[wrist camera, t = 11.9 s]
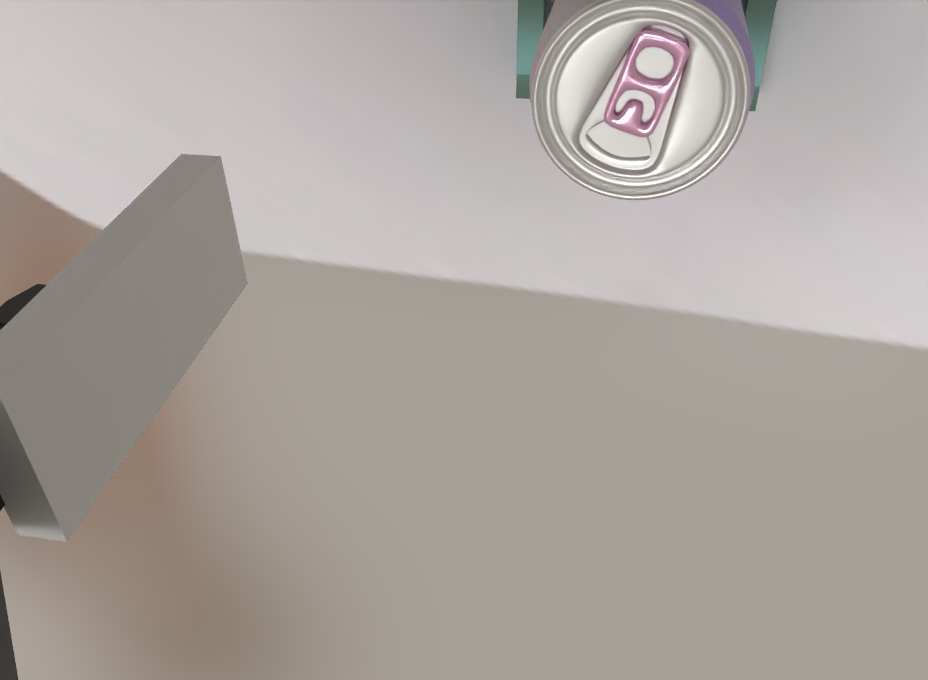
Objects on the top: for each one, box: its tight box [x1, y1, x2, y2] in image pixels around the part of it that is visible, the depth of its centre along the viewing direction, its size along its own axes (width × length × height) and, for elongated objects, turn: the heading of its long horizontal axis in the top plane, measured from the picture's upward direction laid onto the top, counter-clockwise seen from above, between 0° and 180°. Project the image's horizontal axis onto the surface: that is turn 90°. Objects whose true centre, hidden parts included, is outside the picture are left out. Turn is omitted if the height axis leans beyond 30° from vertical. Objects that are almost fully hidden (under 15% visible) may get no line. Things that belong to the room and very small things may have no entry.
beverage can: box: [529, 0, 755, 200], centre depth 28 cm, size 6×6×15 cm
